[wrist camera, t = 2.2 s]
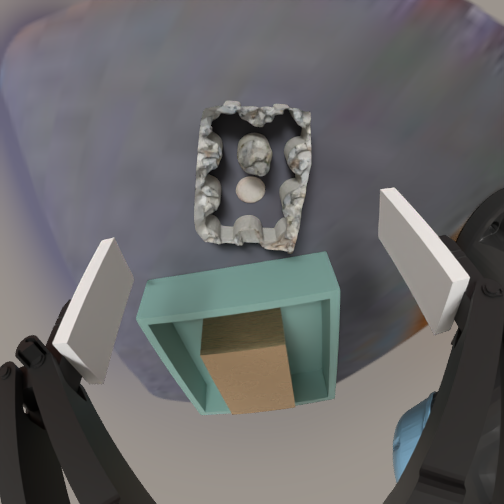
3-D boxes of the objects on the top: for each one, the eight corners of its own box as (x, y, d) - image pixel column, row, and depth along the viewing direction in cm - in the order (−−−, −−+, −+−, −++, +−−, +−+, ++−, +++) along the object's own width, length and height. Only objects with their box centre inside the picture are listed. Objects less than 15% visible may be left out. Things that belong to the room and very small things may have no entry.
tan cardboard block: (278, 293, 29) (285, 344, 24) (289, 363, 36) (295, 407, 31) (204, 304, 30) (199, 355, 25) (232, 371, 36) (232, 414, 32)
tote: (326, 251, 27) (340, 289, 23) (327, 366, 38) (334, 398, 34) (147, 280, 29) (135, 319, 25) (202, 382, 39) (200, 414, 35)
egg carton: (287, 231, 27) (294, 261, 23) (197, 223, 26) (191, 253, 22) (313, 106, 20) (328, 118, 17) (206, 93, 20) (199, 102, 16)
